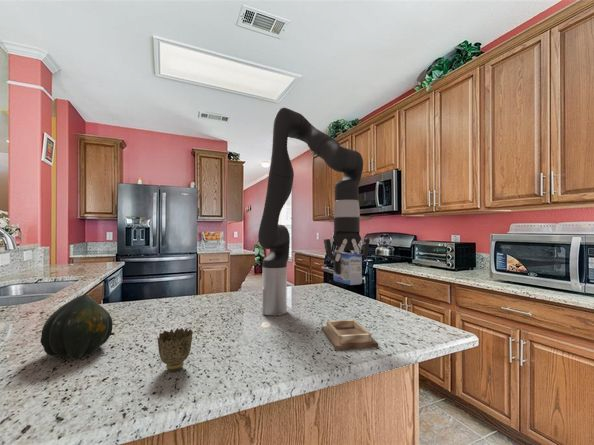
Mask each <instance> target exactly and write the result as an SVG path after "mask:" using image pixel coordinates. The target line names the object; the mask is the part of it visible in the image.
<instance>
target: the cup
mask: <svg viewBox="0 0 594 445" xmlns="http://www.w3.org/2000/svg"><path fill="white" fill-rule="evenodd" d="M193 333H194V332H193V330H192V328H191V329H189V330H188V328H185V329H183V328H178V327H177V328H176V329H175V331H174V330H173V329H172V328H171V329H170V331H167V330H164V331H163V332H160V333H159V334H158V336H156V337H157V347H158V354H159V359H160V360H161V362H162V363H164V364H165V365H166V366H165V368H166V369H167V370H166V371H169V372H176V371H180V370H181V369H183V368H184V367H183V366H185V362H184V361H186V360H187V358H189V356H190V353H191V348H192V340H193Z"/></svg>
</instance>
